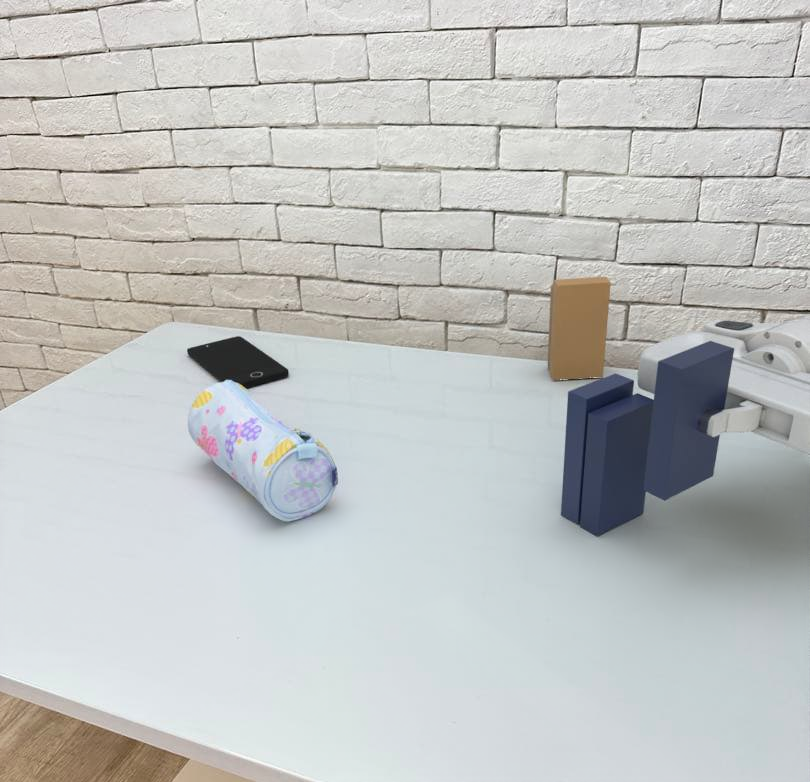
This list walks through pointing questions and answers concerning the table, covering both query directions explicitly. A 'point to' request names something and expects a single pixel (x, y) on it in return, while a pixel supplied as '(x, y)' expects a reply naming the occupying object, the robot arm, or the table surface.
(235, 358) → the cell phone
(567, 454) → the navy books
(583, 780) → the table surface
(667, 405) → the navy book
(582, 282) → the tan rectangular block
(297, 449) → the pencil case
